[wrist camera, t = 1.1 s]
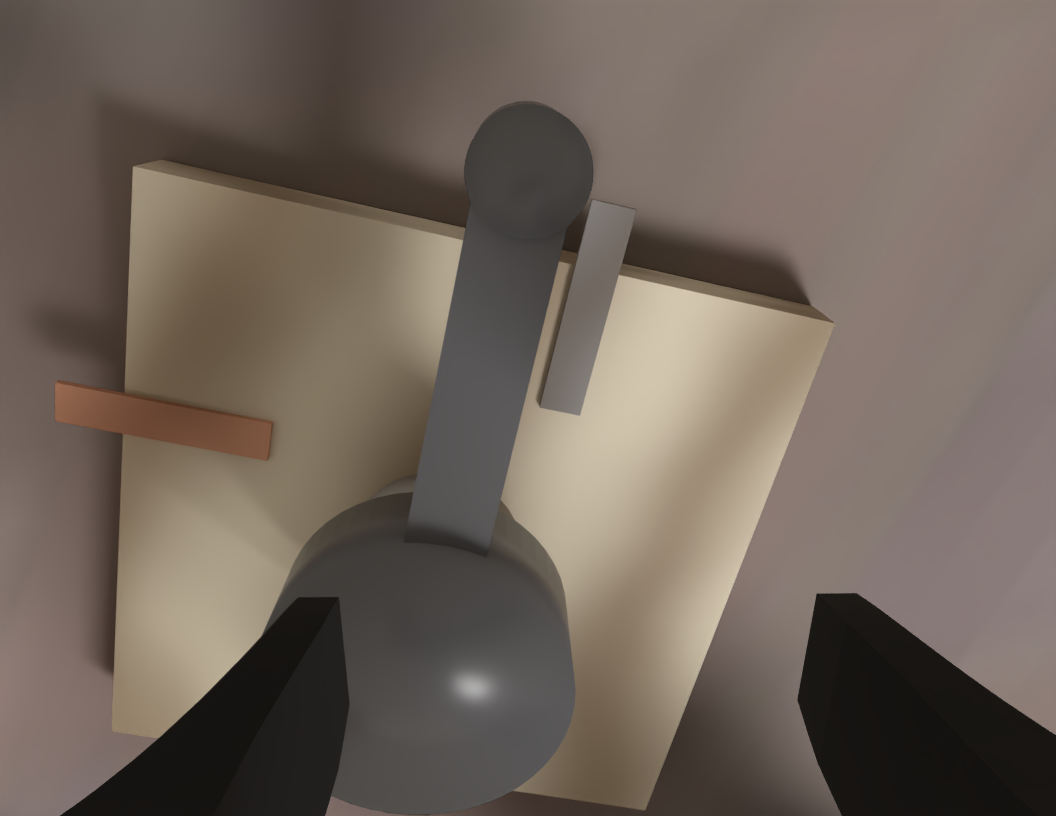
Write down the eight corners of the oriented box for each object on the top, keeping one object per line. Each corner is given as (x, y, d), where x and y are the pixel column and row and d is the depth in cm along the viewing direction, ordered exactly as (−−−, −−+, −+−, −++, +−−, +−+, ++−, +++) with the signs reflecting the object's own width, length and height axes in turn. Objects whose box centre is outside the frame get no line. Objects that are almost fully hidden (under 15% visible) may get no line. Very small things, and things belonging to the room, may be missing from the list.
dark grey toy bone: (531, 741, 20) (534, 833, 17) (270, 700, 19) (235, 791, 17) (711, 145, 14) (753, 158, 12) (357, 57, 14) (324, 54, 11)
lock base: (834, 248, 19) (911, 288, 16) (637, 771, 26) (659, 886, 22) (95, 74, 17) (-15, 74, 14) (83, 686, 24) (6, 796, 20)
